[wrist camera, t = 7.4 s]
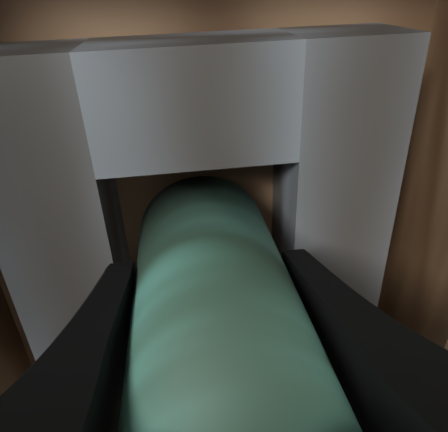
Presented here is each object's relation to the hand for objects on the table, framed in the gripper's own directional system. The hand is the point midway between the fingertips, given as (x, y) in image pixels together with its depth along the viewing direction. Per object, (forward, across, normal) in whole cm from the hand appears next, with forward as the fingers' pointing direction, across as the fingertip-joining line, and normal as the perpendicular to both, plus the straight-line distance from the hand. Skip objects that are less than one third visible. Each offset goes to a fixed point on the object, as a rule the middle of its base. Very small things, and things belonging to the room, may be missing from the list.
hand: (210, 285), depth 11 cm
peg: (+2, 0, 0) cm, 3 cm away
